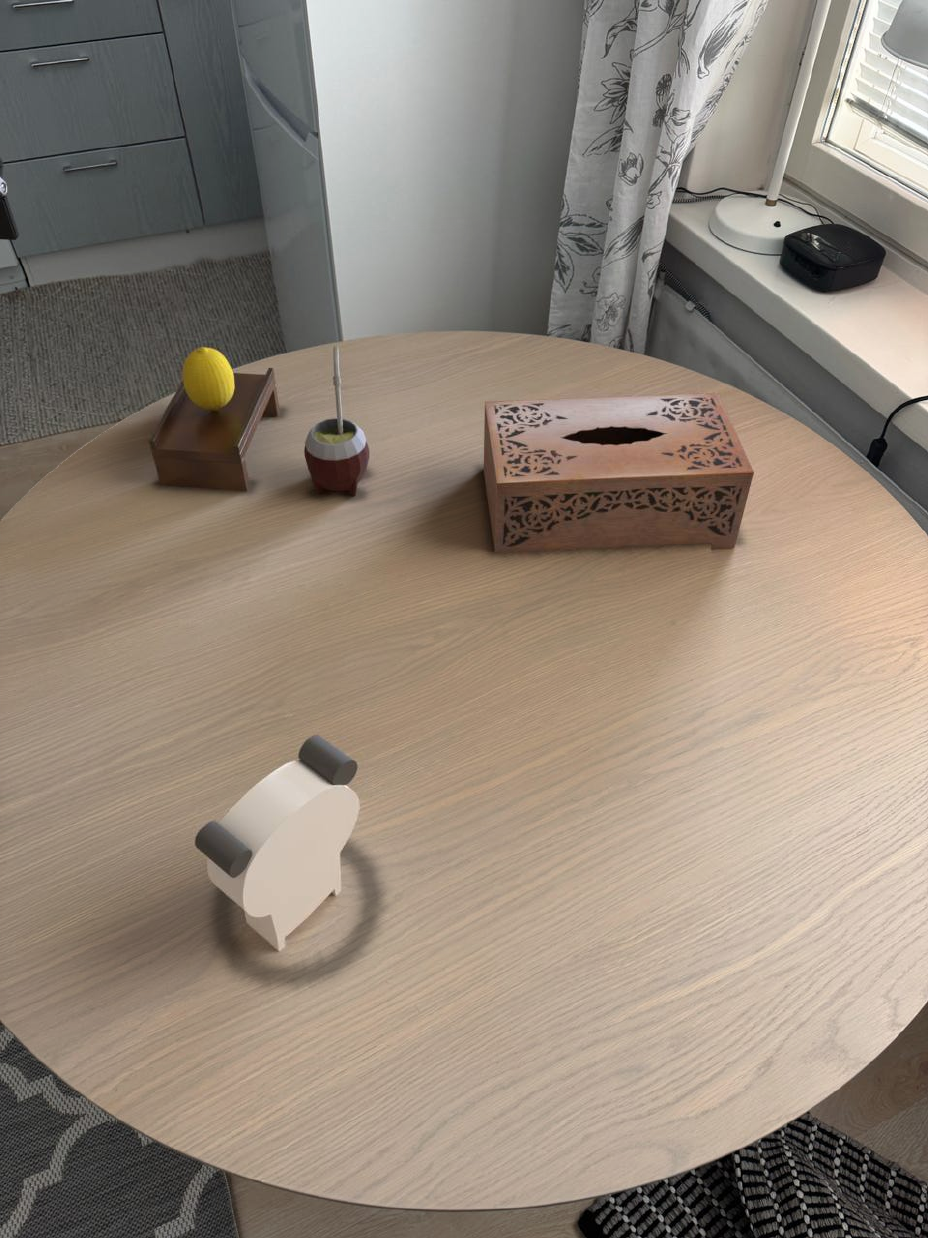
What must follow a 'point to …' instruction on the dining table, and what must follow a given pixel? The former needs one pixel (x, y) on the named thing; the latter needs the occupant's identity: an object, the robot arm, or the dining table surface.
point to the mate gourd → (336, 449)
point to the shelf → (212, 435)
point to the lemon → (208, 378)
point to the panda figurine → (285, 840)
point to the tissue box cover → (613, 472)
